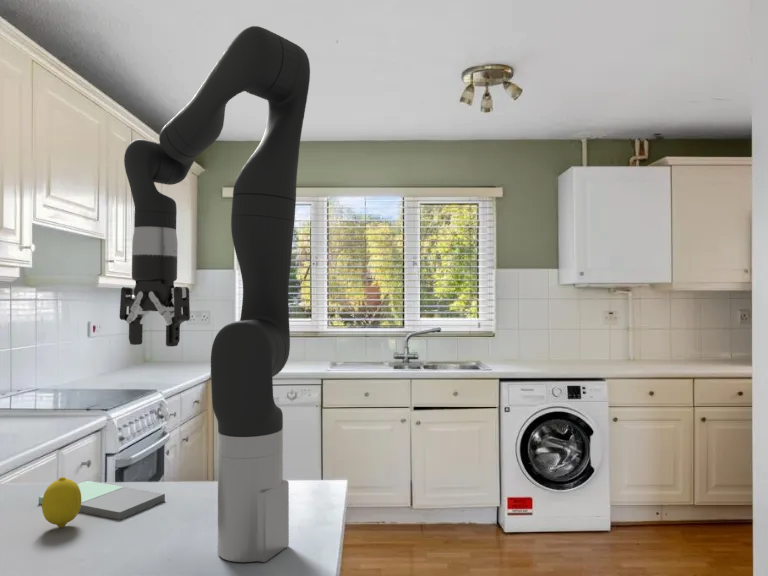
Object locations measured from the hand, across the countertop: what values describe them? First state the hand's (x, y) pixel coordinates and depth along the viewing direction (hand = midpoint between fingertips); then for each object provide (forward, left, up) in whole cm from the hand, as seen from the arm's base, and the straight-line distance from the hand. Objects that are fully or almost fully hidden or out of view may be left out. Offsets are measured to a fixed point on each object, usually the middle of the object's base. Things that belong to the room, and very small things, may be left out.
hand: (153, 345), depth 102 cm
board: (+10, +2, -28) cm, 30 cm away
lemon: (+6, +13, -29) cm, 32 cm away
